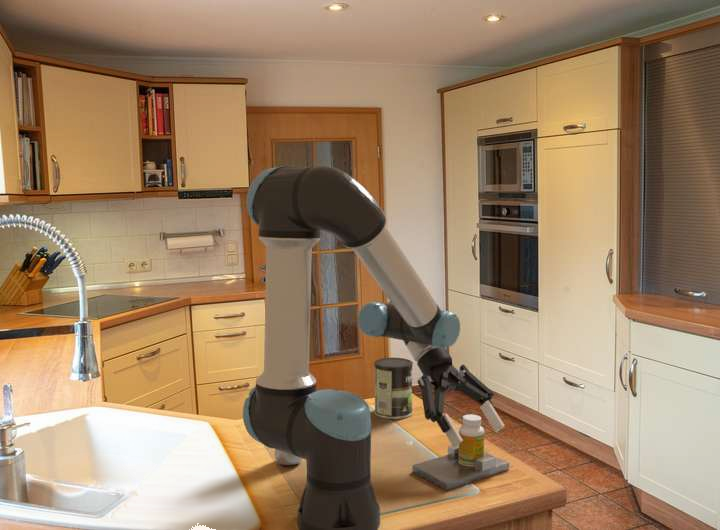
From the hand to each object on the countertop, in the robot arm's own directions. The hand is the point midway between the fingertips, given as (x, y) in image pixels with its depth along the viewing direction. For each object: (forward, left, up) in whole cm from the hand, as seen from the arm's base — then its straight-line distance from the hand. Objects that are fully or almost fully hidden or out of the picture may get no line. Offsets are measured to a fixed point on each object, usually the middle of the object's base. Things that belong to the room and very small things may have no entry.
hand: (479, 436), depth 146 cm
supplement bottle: (+1, +2, -6) cm, 7 cm away
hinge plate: (-2, +3, -8) cm, 9 cm away
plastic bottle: (-20, +36, -8) cm, 42 cm away
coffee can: (+21, +35, -8) cm, 42 cm away
